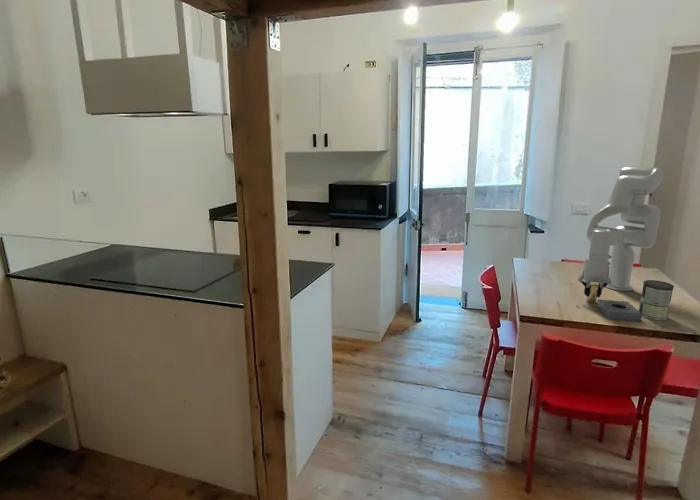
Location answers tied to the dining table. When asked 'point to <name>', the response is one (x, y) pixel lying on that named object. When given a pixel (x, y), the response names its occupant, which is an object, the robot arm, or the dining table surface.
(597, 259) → the robot arm
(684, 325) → the dining table surface
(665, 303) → the coffee can
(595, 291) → the gold rounded cylinder
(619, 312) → the jig
